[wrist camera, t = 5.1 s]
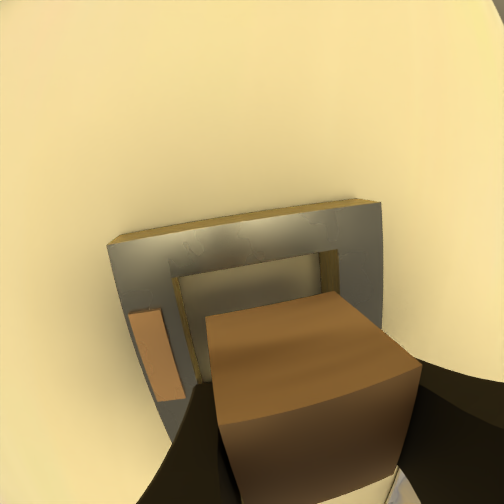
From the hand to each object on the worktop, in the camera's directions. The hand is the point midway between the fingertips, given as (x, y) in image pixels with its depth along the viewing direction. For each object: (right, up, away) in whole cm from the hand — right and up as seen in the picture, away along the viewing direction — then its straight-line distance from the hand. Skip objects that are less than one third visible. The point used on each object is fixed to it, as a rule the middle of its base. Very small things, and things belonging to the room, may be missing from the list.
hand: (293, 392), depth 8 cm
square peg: (0, +1, +1) cm, 2 cm away
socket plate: (0, -3, +6) cm, 7 cm away
